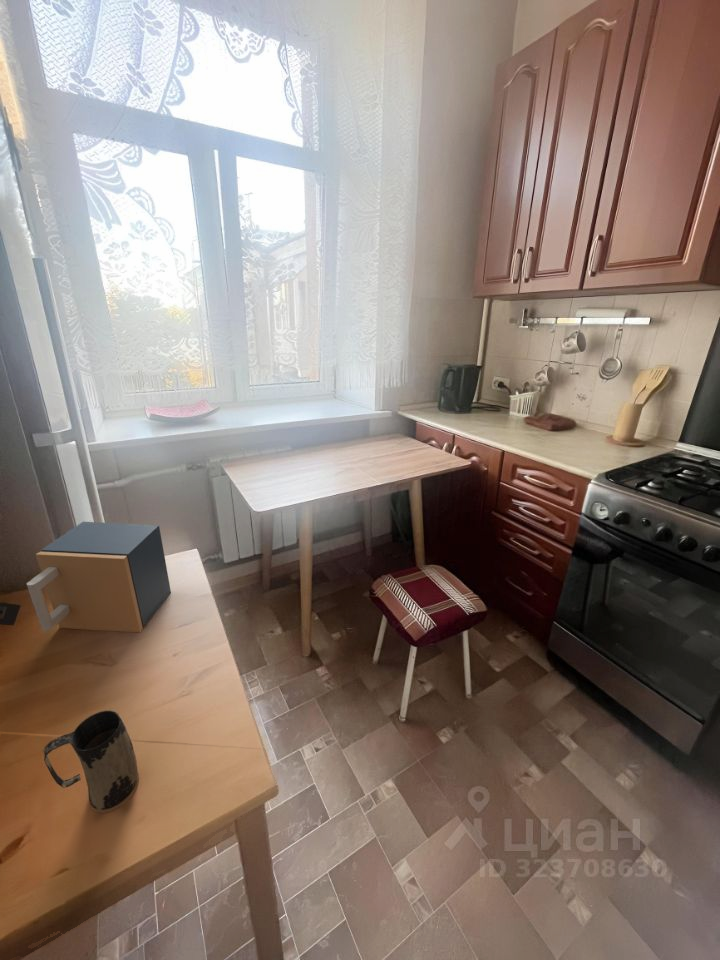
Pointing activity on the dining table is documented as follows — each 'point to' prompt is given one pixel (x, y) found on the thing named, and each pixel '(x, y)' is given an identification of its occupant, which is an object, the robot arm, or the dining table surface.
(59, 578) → the cupboard door
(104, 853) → the dining table surface
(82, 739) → the mug
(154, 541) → the cupboard
